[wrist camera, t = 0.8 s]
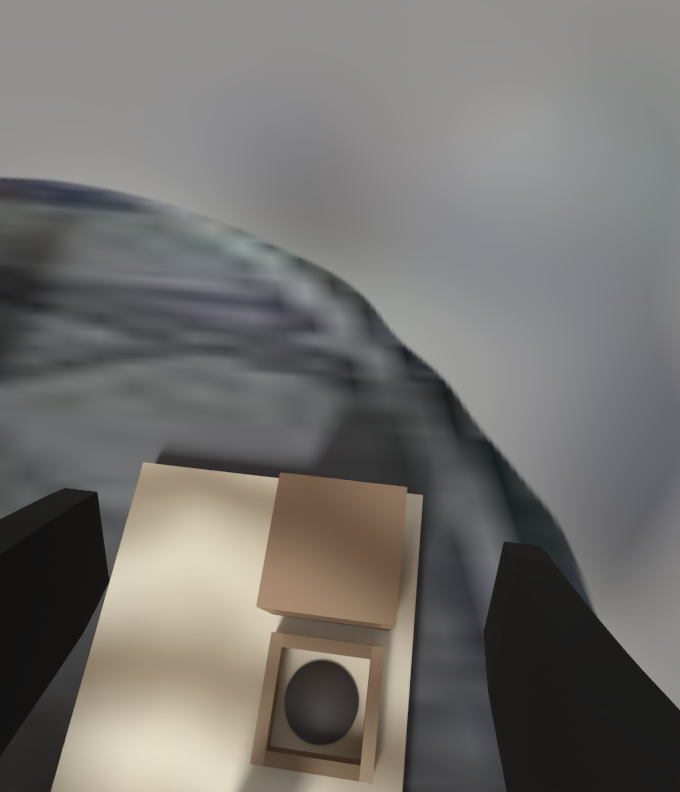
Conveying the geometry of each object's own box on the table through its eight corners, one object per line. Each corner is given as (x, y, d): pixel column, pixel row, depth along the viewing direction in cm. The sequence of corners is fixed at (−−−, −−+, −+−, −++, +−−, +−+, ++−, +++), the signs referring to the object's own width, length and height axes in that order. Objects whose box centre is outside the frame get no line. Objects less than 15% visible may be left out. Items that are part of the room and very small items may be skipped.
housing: (389, 630, 24) (396, 625, 20) (273, 614, 24) (256, 606, 20) (399, 513, 26) (407, 487, 22) (292, 500, 26) (279, 472, 22)
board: (382, 1035, 20) (388, 1127, 16) (16, 964, 21) (-61, 1034, 17) (420, 501, 27) (430, 476, 24) (151, 469, 29) (119, 441, 25)
